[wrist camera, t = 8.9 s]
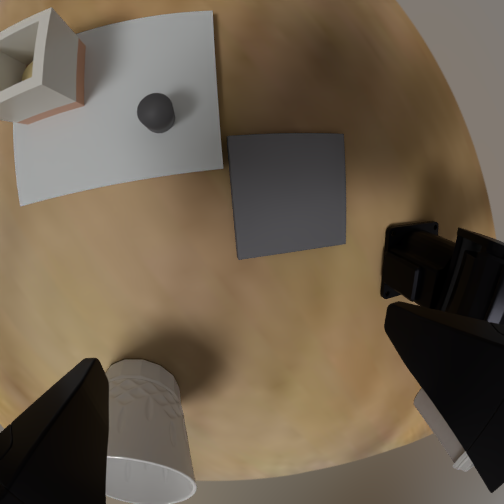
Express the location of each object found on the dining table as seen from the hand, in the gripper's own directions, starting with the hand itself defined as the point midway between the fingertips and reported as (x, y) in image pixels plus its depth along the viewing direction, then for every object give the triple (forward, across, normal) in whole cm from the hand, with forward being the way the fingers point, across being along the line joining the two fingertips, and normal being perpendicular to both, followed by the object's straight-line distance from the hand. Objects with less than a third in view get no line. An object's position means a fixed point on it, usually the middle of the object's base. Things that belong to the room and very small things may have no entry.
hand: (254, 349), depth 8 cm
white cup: (+12, +8, +12) cm, 19 cm away
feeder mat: (+12, -6, -2) cm, 13 cm away
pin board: (+12, +6, -10) cm, 17 cm away
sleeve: (+11, +9, -12) cm, 19 cm away
